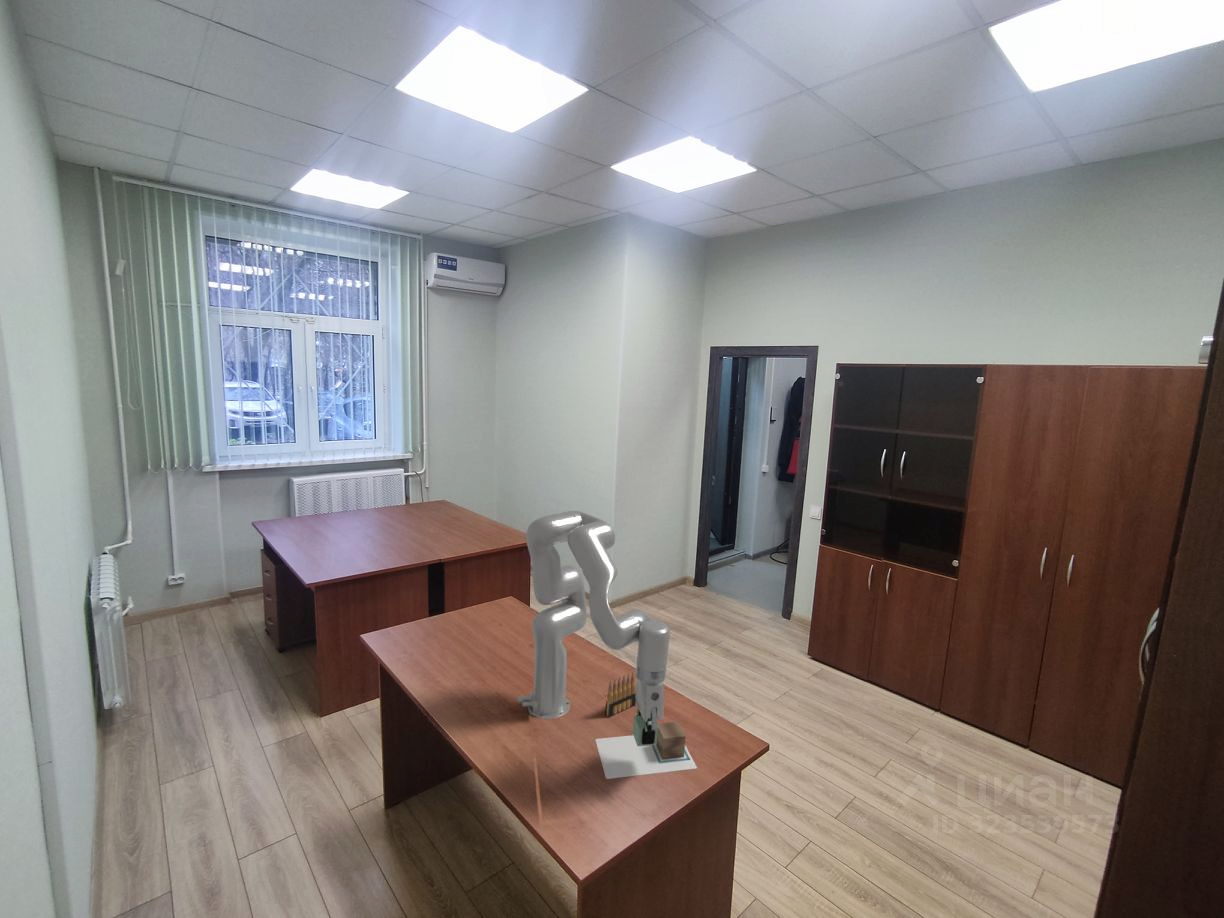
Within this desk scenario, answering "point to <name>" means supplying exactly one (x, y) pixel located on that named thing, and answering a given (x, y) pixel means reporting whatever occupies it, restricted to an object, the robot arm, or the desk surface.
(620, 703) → the ammunition clip
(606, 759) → the building board
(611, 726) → the desk surface
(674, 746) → the walnut block
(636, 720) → the sage cube
